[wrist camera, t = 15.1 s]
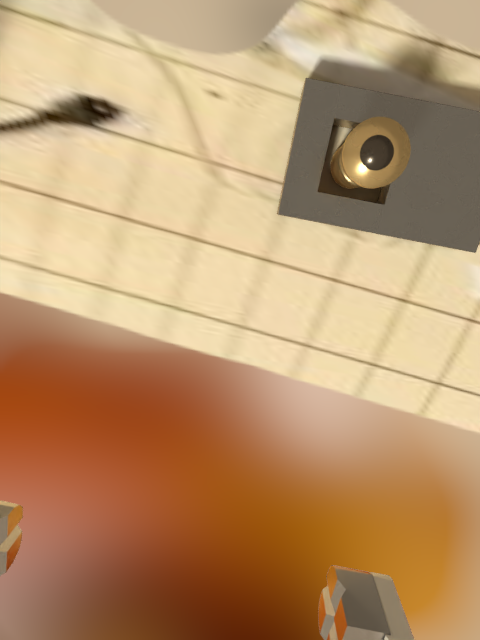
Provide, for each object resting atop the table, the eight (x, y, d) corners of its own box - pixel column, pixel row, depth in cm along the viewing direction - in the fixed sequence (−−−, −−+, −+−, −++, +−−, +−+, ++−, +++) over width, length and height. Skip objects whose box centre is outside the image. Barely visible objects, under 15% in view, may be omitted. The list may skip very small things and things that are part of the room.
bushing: (320, 187, 37) (336, 181, 29) (333, 132, 36) (352, 110, 28) (370, 197, 37) (399, 193, 29) (385, 142, 36) (419, 123, 28)
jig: (276, 214, 38) (277, 214, 35) (302, 87, 35) (306, 77, 33) (462, 250, 38) (475, 252, 35) (503, 126, 35) (521, 119, 33)
